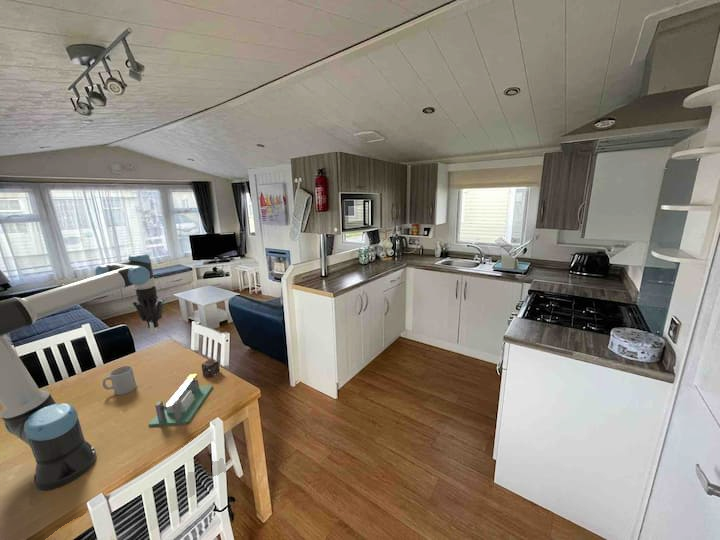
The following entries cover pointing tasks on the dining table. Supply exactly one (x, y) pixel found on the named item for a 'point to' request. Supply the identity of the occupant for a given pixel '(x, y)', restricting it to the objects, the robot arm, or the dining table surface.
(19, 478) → the dining table surface
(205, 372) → the box
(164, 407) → the strap
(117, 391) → the mug
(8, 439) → the dining table surface
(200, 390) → the heatsink board
